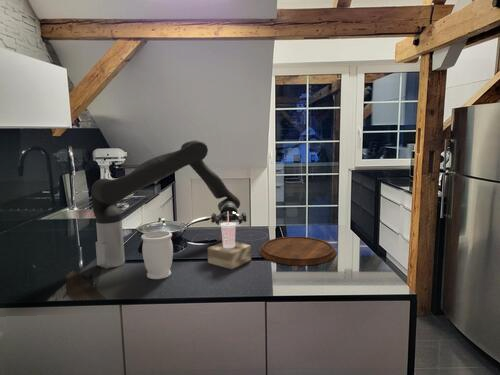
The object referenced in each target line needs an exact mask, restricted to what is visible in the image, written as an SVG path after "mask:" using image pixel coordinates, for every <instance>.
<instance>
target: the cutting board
mask: <svg viewBox="0 0 500 375" xmlns="http://www.w3.org/2000/svg"><path fill="white" fill-rule="evenodd" d="M258 253H259V255H260V256H261V258H263V259H265V260H267V261H270V262H272V263H276V264H280V265H286V266H287V265H288V266H313V265H316V266H317V265H320V264H325V263H327V262H330V261H333V260H334V259H335V258H336V257H337V249H335V247H334V246H333V245H332V244H331V243H330V242H327V241H326V240H322V239H320V238H315V237H307V236H281V237H276V238H273V239H269V240H267V241H265V242H263V244H262V245H261V246H260V247H259V250H258Z"/></svg>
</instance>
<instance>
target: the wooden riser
mask: <svg viewBox="0 0 500 375" xmlns="http://www.w3.org/2000/svg"><path fill="white" fill-rule="evenodd" d="M250 261H252V245H251V244H247V243H242V242H238V241H237V242H236V241H235V247H233V248H224V247H223V241H222V242H219V243H216V244H215V245H212V246H208V247H207V263H208V264H211V265H215V266H217V267H218V266H219V267H221V268H222V267H223V268H226V269H230V270H234V269H235V268H238V267H240V266H242V265H243V264H246V263H247V262H248V263H249V262H250Z"/></svg>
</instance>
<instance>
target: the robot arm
mask: <svg viewBox="0 0 500 375" xmlns="http://www.w3.org/2000/svg"><path fill="white" fill-rule="evenodd" d="M208 151H209V150H208V146H207V144H206V143H205V142H204V141H202V140H198V139H196V140H191V141H186V142H185V143H183V144H182V145H181V147H180V149H178V150H176V151H172V152H171V151H170V152H168V153H164V154H161V155H158V156H155V157H152V158H150V159H148V160H145V161H144V162H142V163H140V164H139V165H138V166H137V167H136V168H135V169H134V170H132V171H131V172H130V173H128V174H125V175H123V176H120V177H117V178H114V179H109V178H99V179H98V180H96V181H94V183H93V184H92V186H91V192H90V193H91V202H92V211H93V216H94V217H95V221H96V222H95V223H96V224H95V225H96V236H97V241H95V251H96V252H95V253H96V264H97V266H98V267H101V268H103V269H105V270H106V269H110V268H111V269H112V268H117V267H121V266H122V265H124V264H125V263H126V260H125V259H126V257H125V245H124V232H123V229H124V228H123V218H122V215H123V214H122V211H120V209H119V207H118V204H117V203H119V202H121V201H123V200H124V199H126V198H127V197H129V196H130V195H132V194H134V193H135V192H137V191H139V190H141V189H143V188H146V187H148V186H150V185H152V184H155V183H156V182H159V181H161V180H163V179H164V178H165V179H166V177H169V176H170V175H172V174H174V173H175V172H178V171H179V170H181V169H182V168H185V167H186V166H190V167H191V168H192V170H193V171H194V172H195V174H197V175H198V176H199V177H200V179H201V180H202V181H203V182H204V183H205V185H206V186H207V188H208V189H209V191H210V192H211V193H212V195H213V197H214V198H215V199H217V200H218V199H222V200H221V201H220V202H218V204H217V208H218V210H219V214H218V215H217V214H216V213H212V214H211V218H210V219H211V223H212V224H216V225H217V226H220V224H221V223H224V222H228V217H227V211H229V222H234V223H238V225H241V224H243V222H244V223H247V221H248V220H247V213H246V212H242V213H241V214H240V213H239V212H238V209H239V208H240V206H241V200H240V199H239V198H238V197H237V196H236V195H234V194H233V193H232V192H231V191H230V190H229V189H228V188H227V186H226V185H225V183H224V181H223V180H222V179H221V178H220V176H219V175H218V174H217V173H216V172H214V171H213V170H212V169H211V168H210V167H209V166H208V165H207V164H206V163H205V162H204V159H205V158H206V157H207V155H208ZM223 198H224V199H223Z"/></svg>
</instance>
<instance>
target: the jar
mask: <svg viewBox="0 0 500 375" xmlns="http://www.w3.org/2000/svg"><path fill="white" fill-rule="evenodd" d="M172 237H173V233H172V232H171V231H167V230H156V231H155V230H154V231H150V232H145V233H143V234H142V235H141V240H142V241H143V242H142V248H141V249H142V258H143V261H144V262H143V263H144V267H145V269H146V271H147V273H146V277H147V278H148V279H152V280H162V279H165V278H167V277H170V276H171V274H172V271H171V267H172V264H173V258H174V247H173V241H172Z"/></svg>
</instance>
